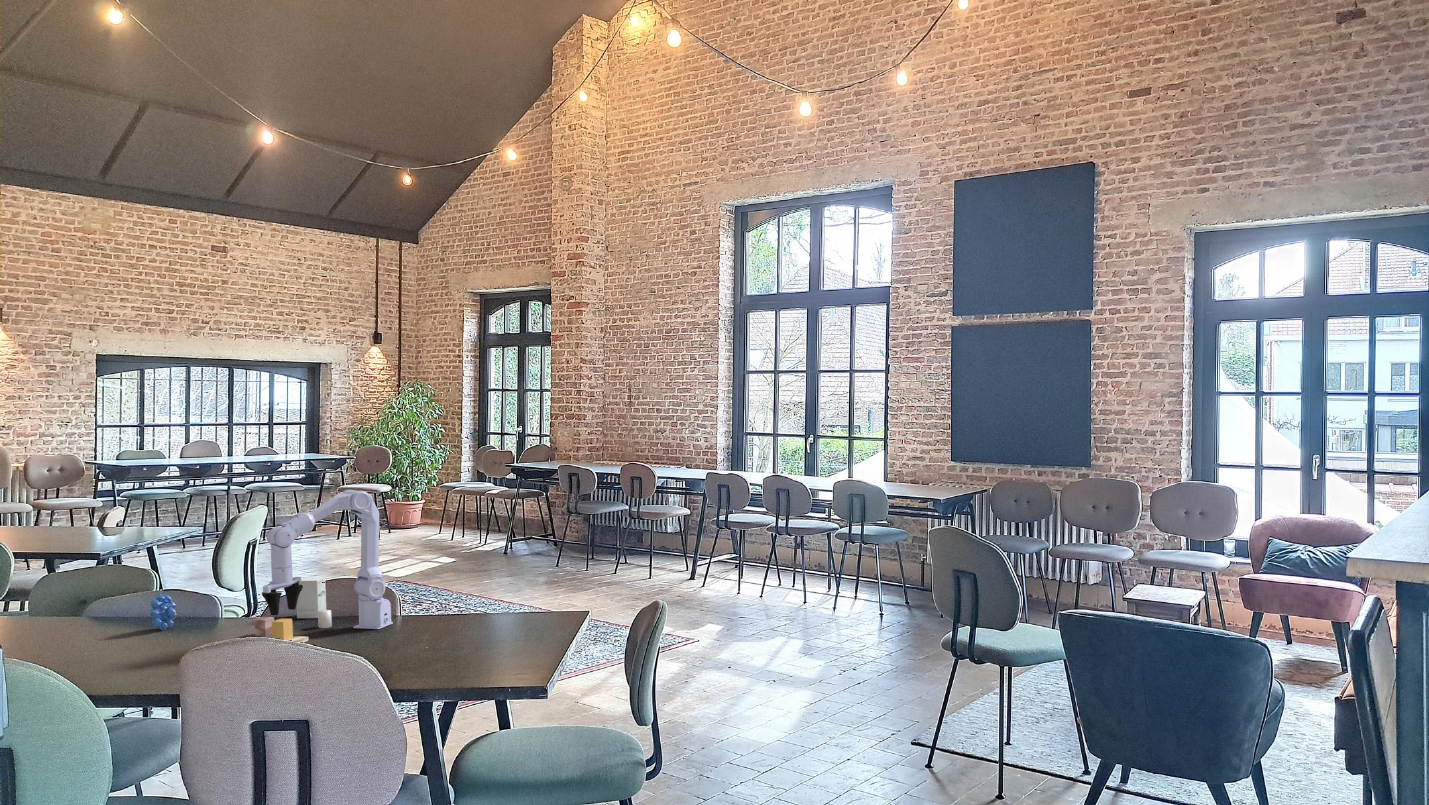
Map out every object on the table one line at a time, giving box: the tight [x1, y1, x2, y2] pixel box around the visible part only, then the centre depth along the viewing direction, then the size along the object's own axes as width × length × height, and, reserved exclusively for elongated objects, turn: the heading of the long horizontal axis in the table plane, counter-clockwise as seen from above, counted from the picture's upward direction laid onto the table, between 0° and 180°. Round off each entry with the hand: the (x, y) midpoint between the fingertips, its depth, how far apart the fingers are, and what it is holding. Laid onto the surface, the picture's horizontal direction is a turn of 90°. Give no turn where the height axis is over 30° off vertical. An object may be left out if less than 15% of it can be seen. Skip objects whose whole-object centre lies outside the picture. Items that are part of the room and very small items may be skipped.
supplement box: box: [296, 576, 327, 619], centre depth 342 cm, size 7×7×13 cm
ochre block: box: [271, 618, 294, 640], centre depth 304 cm, size 4×4×6 cm
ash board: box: [291, 635, 309, 644], centre depth 304 cm, size 10×10×1 cm
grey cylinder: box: [317, 609, 333, 629], centre depth 326 cm, size 4×4×5 cm
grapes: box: [148, 593, 178, 631], centre depth 327 cm, size 12×7×12 cm, turn 173°
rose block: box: [253, 616, 275, 637], centre depth 318 cm, size 4×4×5 cm
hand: (283, 612), depth 305 cm, fingers open, 7 cm apart
